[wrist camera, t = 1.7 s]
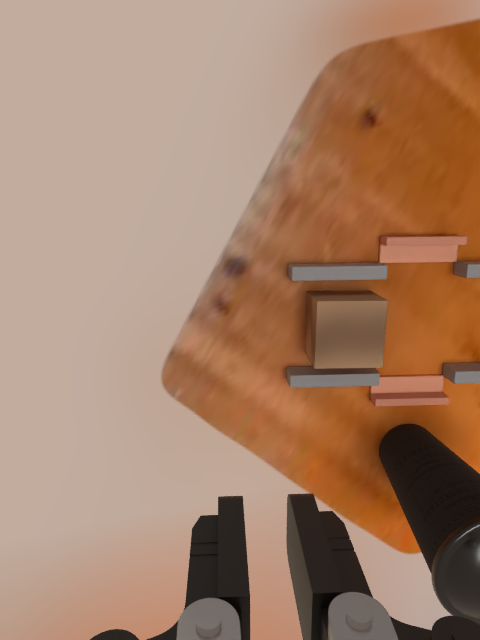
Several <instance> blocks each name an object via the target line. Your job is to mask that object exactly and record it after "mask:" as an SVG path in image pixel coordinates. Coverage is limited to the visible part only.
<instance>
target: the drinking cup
mask: <svg viewBox="0 0 480 640" xmlns="http://www.w3.org/2000/svg"><path fill="white" fill-rule="evenodd" d="M379 456H380V460H381V462H382V464H383V467H384V469H385V471H386V473H387V476H388V478H389V480H390V482H391V485H392V487H393V489H394V491H395V493H396V496H397V498H398V500H399V502H400V505H401V507H402V509H403V511H404V514H405V516H406V518H407V520H408V523H409V525H410V527H411V529H412V532H413V534H414V536H415V538H416V540H417V543H418V545H419V547H420V549H421V552H422V554H423V556H424V558H425V560H426V563H427V565H428V567H429V570H430V572H431V574H432V584H433V588H434V591H435V593H436V596H437V597H438V599H439V601H440V603H441V604H442V605H443V607H444V608H445V609H446V610H447V611H448V612H449V613H450V614H452V615H453V616H459V617H463V618H467V619H469V620H472V621H474V622H476V623H478V624H479V625H480V474H479V473H478V472H476V471H475V470H474V469H473V468H472V467H470V466H469V465H468V464H467V463H466V462H464V461H463V460H462V459H461V458H460V457H458V456H457V455H456V454H455V453H454V452H452V451H451V450H450V449H449V448H448V447H446V446H445V445H444V444H443V443H442V442H440V441H439V440H438V439H437V438H436V437H434V436H433V435H432V434H431V433H430V432H428V431H427V430H426V429H425V428H423V427H421V426H418V425H414V424H405V425H400V426H398V427H395V428H394V429H392V430H391V431H389V432H388V433H387V434H386V435H385V437H384V438H383V440H382V442H381V444H380V448H379Z"/></svg>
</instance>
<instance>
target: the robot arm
mask: <svg viewBox="0 0 480 640" xmlns="http://www.w3.org/2000/svg"><path fill="white" fill-rule="evenodd" d="M287 499H288V500H287V554H288V562H289V567H290V573H291V578H292V583H293V589H294V594H295V599H296V604H297V610H298V615H299V620H300V626H301V631H302V636H303V640H480V625H479V624H478V623H476V622H474V621H472V620H469V619H467V618H463V617H459V616H446V617H443V618H440V619H439V620H437V621H436V622H435V623H434V625H433V627H432V630H427V629H424V628H420V627H416V626H411V625H408V624H405V623H402V622H400V621H397V620H395V619H394V618H392V617H390V616H389V614H388V612H387V610H386V609H385V608H384V607H383V605H382V604H381V603H379V602H378V601H377V600H376V599H374V598H373V596H372V594H371V592H370V589H369V587H368V584H367V581H366V579H365V576H364V574H363V571H362V569H361V566H360V564H359V561H358V558H357V555H356V553H355V552H354V548H353V545H352V543H351V540H349V535H348V532H347V530H346V527H345V524H344V523H343V522H342V521H341V520H340V519H339V518H338V517H337V516H336V514H335V513H334V512H333V511H323V512H319V510H318V508H317V504H316V501H315V498H314V495H313V494H289V495H288V498H287ZM245 537H246V536H245V522H244V509H243V496H227V497H226V496H225V497H218V515H208V516H200V518H199V519H198V521H197V522H196V524H195V525H194V527H193V528H192V538H191V549H190V560H189V571H188V582H187V593H186V603H185V608H184V611H183V613H182V614H181V616H180V618H179V620H178V621H177V623H176V624H175V625H174V626H173V627H171V628H170V629H169V630H167V631H166V632H164V633H162V634H160V635H158V636H155V637H153V638H150V639H147V640H250V593H249V592H250V591H249V577H248V564H247V550H246V538H245ZM90 640H139V639H138V638H137V637H136V636H135V635H134V634H132V633H131V632H129V631H126V630H119V629H114V630H108V631H105V632H102V633H100V634H98V635H97V636H94V637H93V638H92V639H90Z"/></svg>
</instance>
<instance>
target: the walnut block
mask: <svg viewBox="0 0 480 640" xmlns="http://www.w3.org/2000/svg"><path fill="white" fill-rule="evenodd" d="M387 305H388V301H387V300H386V299H384V298H382V297H380V296H379V295H377V294H375V293H373V292H372V291H307V311H306V339H305V353H306V355H307V356H308V358H309V360H310V362H311V363H312V365H313V367H314V369H327V368H382V366H383V354H384V342H385V329H386V317H387Z"/></svg>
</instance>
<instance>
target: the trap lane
mask: <svg viewBox="0 0 480 640" xmlns="http://www.w3.org/2000/svg"><path fill="white" fill-rule="evenodd" d="M458 245H467V236H459V235H439V236H380V245H379V260H378V262H375V263H307V264H288V277H289V278H290V279H291V280H292V281H312V280H374V279H387V267H388V266H387V265H384V264H381V263H408V262H454V269H453V274H454V275H458V276H461V277H465V278H480V261H456V260H457V251H458ZM444 376H445V377H446V378H447V379H449V380H450V381H451V382H453V383H454V384H464V383H480V362H472V363H443V372H442V375H403V376H380V373H379V372H378V371H377V370H376V369H375V368H327V369H314V367H313V366H300V367H287V381H288V383H289V386H290V388H304V387H344V386H370V397H369V399H370V400H371V401H372V403H373V404H374V405H375V406H410V405H447V404H449V397H448V396H447V395H446V394H444V393H443V392H442V389H443V380H444Z"/></svg>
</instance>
